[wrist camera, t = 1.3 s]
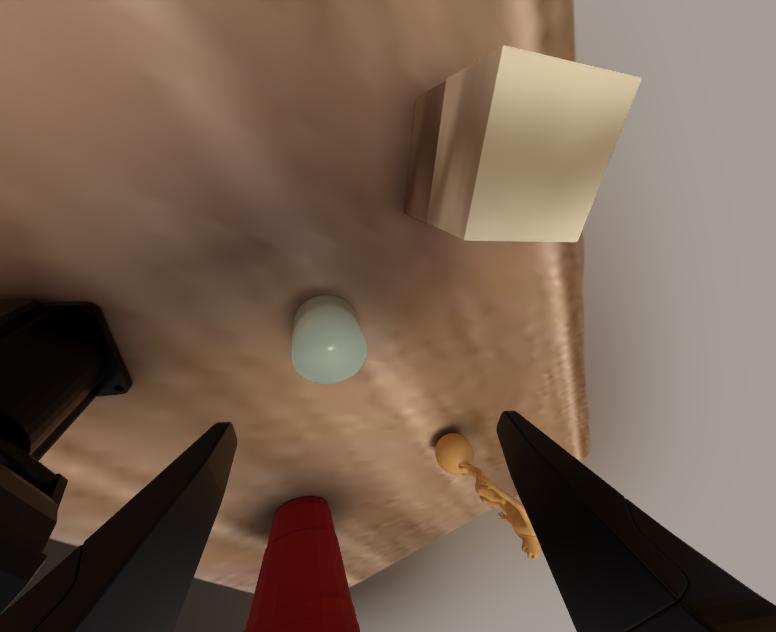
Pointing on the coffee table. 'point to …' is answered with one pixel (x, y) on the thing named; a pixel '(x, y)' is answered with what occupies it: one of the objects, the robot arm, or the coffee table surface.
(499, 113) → the birch block
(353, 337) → the stubby sage cylinder
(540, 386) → the coffee table surface
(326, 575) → the plastic cup
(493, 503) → the figurine
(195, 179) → the coffee table surface
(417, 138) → the walnut block
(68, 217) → the coffee table surface
